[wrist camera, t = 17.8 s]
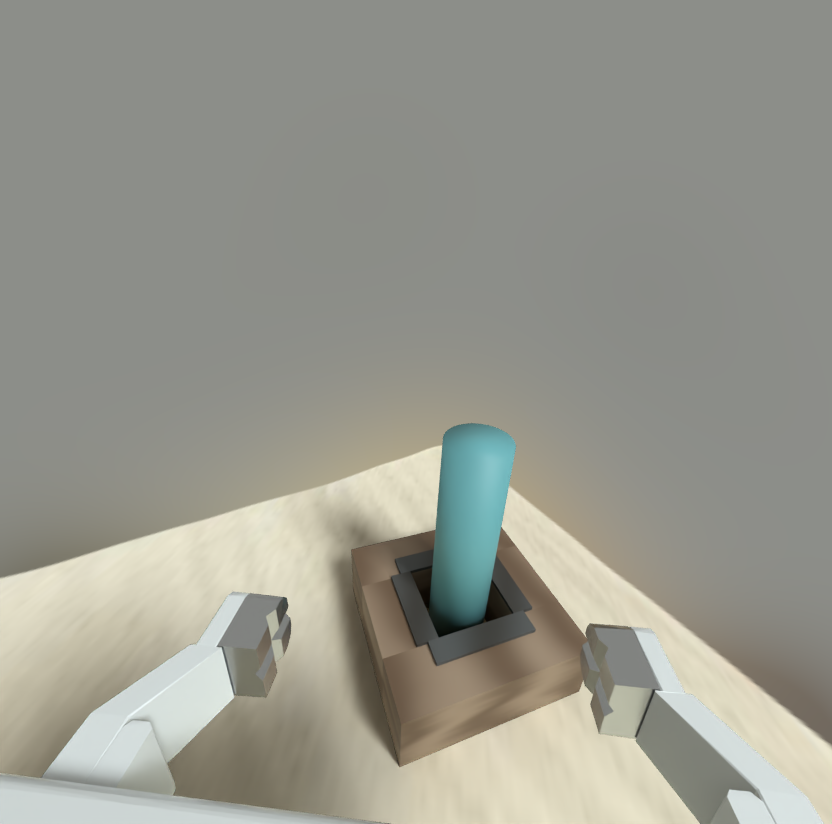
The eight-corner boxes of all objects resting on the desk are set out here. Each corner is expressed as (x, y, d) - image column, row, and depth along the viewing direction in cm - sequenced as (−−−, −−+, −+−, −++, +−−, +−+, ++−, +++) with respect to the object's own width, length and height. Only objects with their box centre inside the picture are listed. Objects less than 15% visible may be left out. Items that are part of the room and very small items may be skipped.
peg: (439, 661, 31) (461, 468, 22) (420, 611, 34) (432, 428, 26) (491, 644, 32) (530, 455, 23) (467, 598, 36) (493, 419, 27)
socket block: (399, 767, 26) (401, 721, 23) (353, 589, 37) (351, 547, 35) (578, 691, 30) (595, 646, 28) (487, 553, 42) (493, 514, 39)
